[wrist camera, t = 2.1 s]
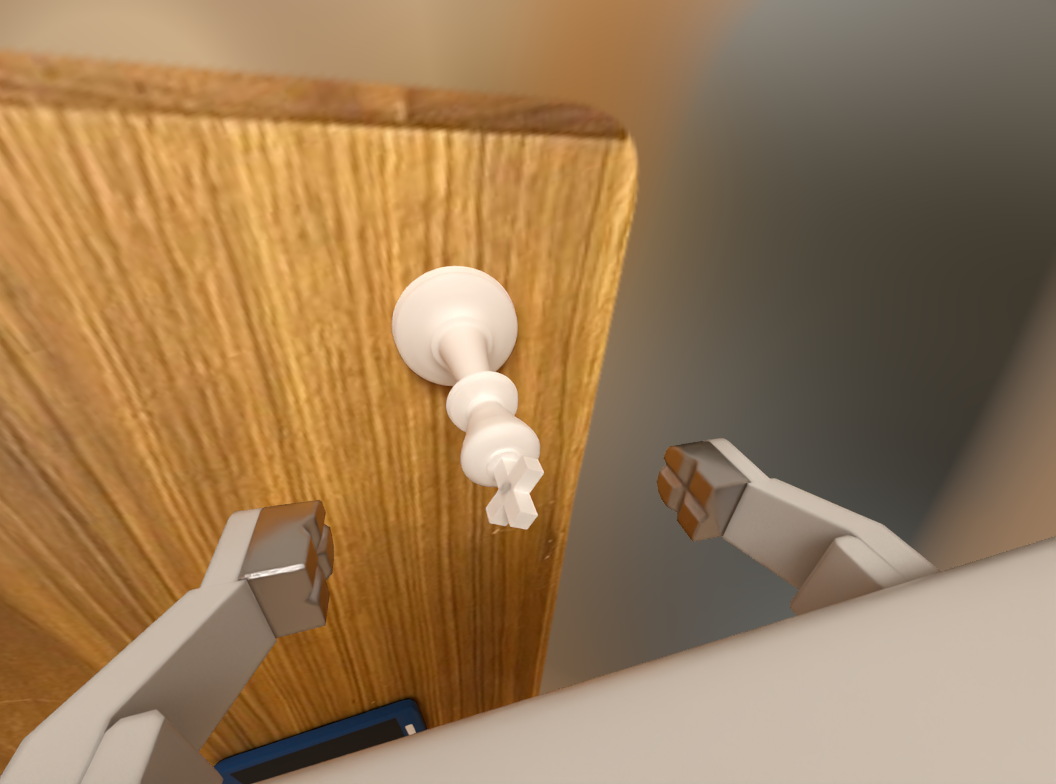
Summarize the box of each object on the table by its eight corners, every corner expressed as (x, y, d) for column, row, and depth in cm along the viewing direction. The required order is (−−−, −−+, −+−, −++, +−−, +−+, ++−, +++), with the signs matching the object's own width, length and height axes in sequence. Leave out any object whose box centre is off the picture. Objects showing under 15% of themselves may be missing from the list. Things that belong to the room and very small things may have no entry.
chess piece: (536, 300, 17) (675, 460, 9) (480, 393, 18) (554, 601, 10) (424, 240, 14) (475, 389, 6) (372, 355, 16) (359, 585, 8)
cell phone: (428, 731, 35) (429, 741, 35) (250, 793, 32) (248, 806, 32) (414, 695, 31) (414, 706, 31) (208, 763, 28) (204, 777, 28)
